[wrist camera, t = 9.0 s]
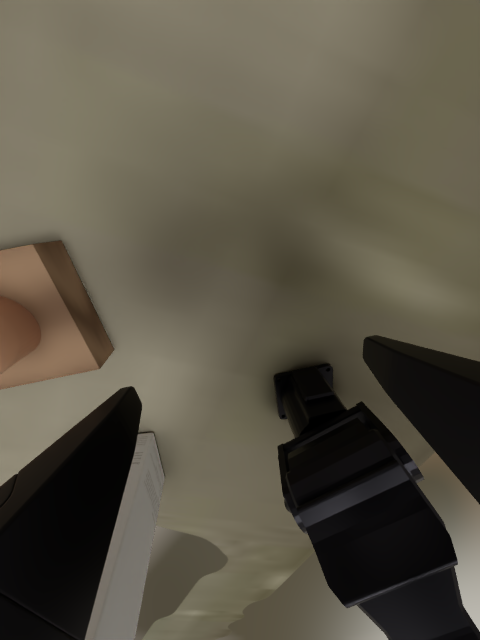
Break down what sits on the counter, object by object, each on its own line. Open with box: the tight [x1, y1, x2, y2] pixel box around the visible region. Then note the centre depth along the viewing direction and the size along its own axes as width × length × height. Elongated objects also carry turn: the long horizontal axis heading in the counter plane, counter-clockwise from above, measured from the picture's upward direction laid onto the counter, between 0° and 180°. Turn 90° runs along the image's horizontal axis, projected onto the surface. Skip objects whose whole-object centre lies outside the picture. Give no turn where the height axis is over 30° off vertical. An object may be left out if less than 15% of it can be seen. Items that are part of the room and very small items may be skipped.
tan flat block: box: [0, 241, 114, 389], centre depth 18 cm, size 10×10×3 cm
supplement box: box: [85, 433, 165, 640], centre depth 21 cm, size 9×9×15 cm
